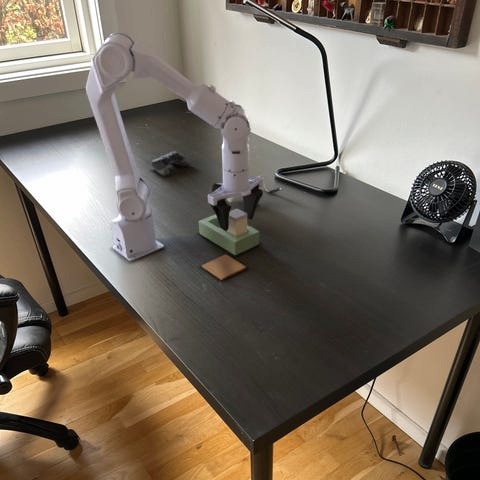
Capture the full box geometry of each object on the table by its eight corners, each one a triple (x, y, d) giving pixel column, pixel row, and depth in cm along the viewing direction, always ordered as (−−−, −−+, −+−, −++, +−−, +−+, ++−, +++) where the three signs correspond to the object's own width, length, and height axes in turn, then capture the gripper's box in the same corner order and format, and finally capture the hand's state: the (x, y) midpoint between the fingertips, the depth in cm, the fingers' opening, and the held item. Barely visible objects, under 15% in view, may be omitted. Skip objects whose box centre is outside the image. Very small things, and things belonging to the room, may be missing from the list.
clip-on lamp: (261, 194, 145) (208, 196, 136) (264, 172, 142) (210, 172, 133) (284, 206, 137) (230, 208, 127) (289, 183, 134) (233, 184, 124)
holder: (235, 255, 114) (234, 242, 112) (199, 233, 122) (198, 221, 120) (259, 244, 118) (259, 231, 116) (222, 223, 126) (222, 211, 124)
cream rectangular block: (236, 249, 116) (235, 218, 111) (226, 243, 118) (225, 213, 113) (247, 243, 118) (247, 213, 113) (237, 238, 120) (237, 208, 115)
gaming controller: (166, 177, 147) (161, 160, 145) (149, 176, 152) (144, 160, 149) (192, 164, 155) (188, 148, 152) (176, 164, 159) (171, 148, 157)
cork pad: (221, 280, 106) (221, 278, 106) (202, 267, 110) (201, 265, 110) (245, 268, 110) (245, 266, 110) (225, 256, 114) (225, 254, 114)
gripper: (221, 182, 100) (223, 240, 109) (272, 163, 107) (270, 219, 116) (200, 172, 104) (204, 229, 113) (251, 154, 111) (250, 209, 120)
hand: (236, 223), depth 115 cm, fingers open, 7 cm apart
